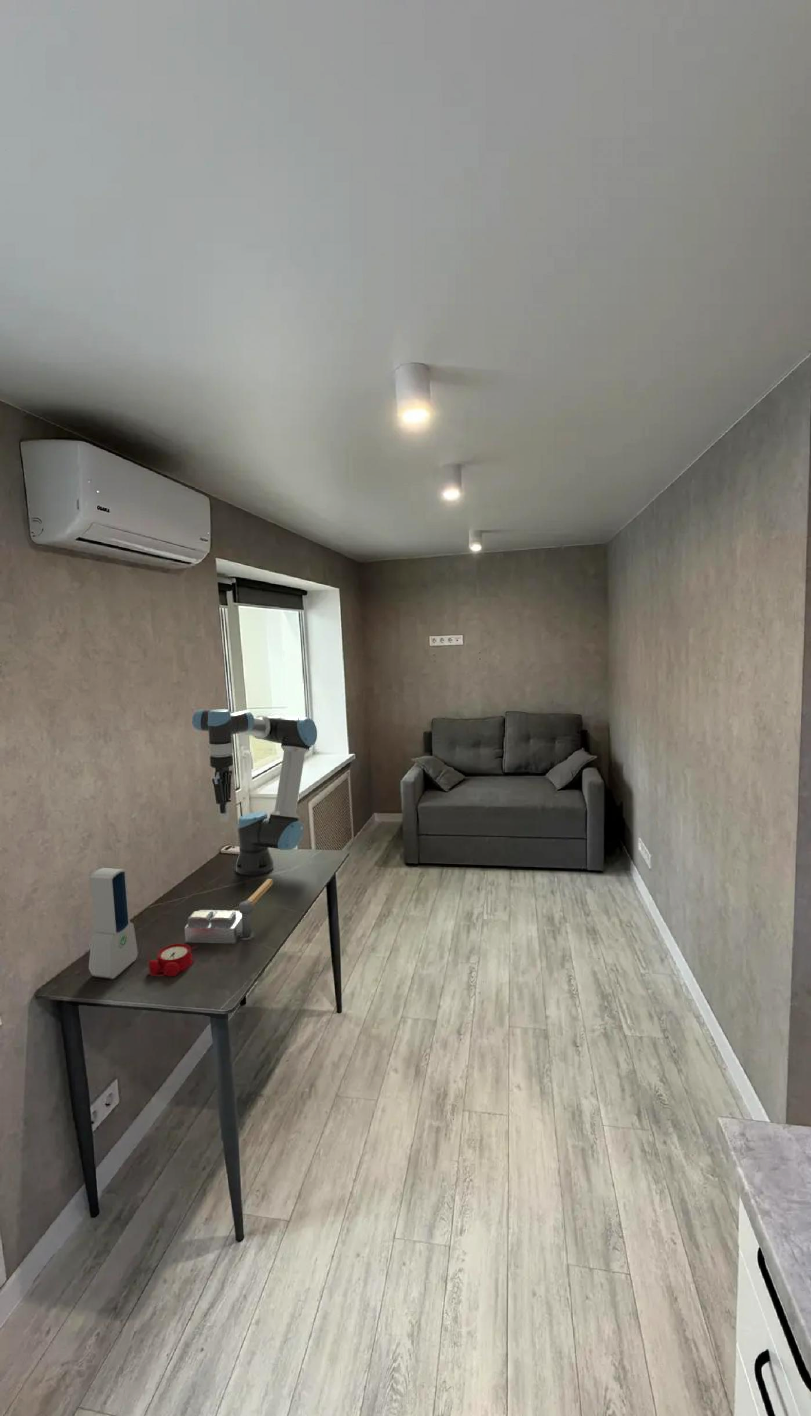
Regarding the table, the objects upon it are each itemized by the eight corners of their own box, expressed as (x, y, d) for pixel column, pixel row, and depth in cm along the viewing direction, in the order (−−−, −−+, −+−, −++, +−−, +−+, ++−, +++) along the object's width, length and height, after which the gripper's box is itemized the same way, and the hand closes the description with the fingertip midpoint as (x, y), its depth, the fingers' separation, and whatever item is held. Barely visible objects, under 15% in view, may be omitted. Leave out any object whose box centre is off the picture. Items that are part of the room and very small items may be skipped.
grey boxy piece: (200, 924, 204) (199, 903, 203) (261, 925, 203) (260, 904, 202) (185, 942, 192) (184, 920, 191) (250, 944, 191) (249, 922, 190)
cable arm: (250, 938, 193) (248, 907, 192) (238, 937, 194) (236, 906, 192) (276, 907, 215) (275, 878, 213) (266, 906, 215) (264, 877, 214)
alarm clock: (201, 944, 184) (172, 959, 170) (200, 965, 184) (170, 982, 169) (171, 940, 187) (140, 955, 172) (170, 961, 186) (138, 978, 172)
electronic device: (111, 981, 172) (103, 880, 167) (88, 978, 173) (79, 878, 169) (139, 957, 184) (131, 863, 180) (117, 955, 185) (109, 861, 181)
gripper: (217, 750, 214) (220, 815, 217) (203, 758, 201) (206, 827, 204) (238, 750, 213) (241, 815, 216) (225, 759, 200) (228, 827, 203)
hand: (224, 821), depth 210 cm, fingers closed
